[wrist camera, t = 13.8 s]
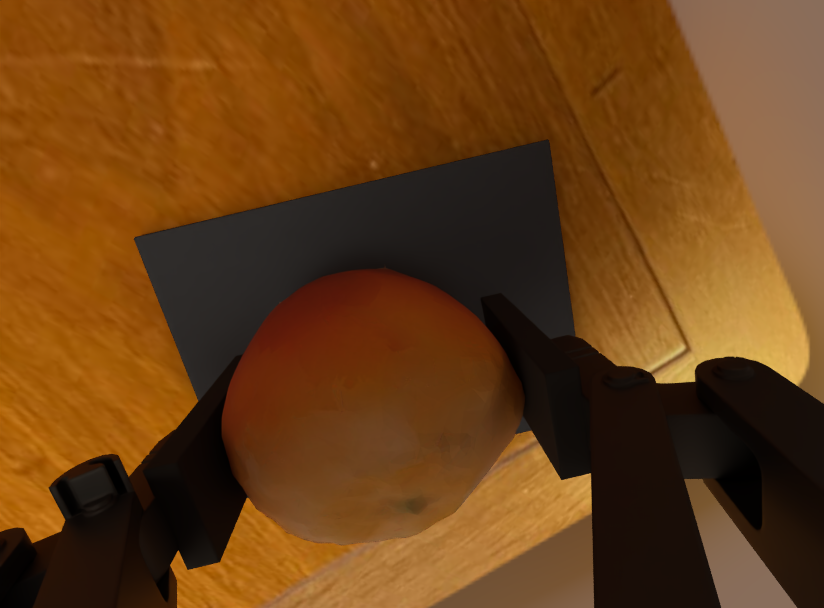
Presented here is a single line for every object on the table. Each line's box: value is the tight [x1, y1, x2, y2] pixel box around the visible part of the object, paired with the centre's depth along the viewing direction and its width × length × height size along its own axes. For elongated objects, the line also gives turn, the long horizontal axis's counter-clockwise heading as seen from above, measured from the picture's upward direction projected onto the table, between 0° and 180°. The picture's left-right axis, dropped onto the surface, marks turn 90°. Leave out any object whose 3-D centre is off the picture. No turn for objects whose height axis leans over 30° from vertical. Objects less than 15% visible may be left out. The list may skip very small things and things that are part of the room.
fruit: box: [222, 266, 525, 545], centre depth 14 cm, size 8×8×8 cm
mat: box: [134, 140, 575, 498], centre depth 19 cm, size 16×12×1 cm
